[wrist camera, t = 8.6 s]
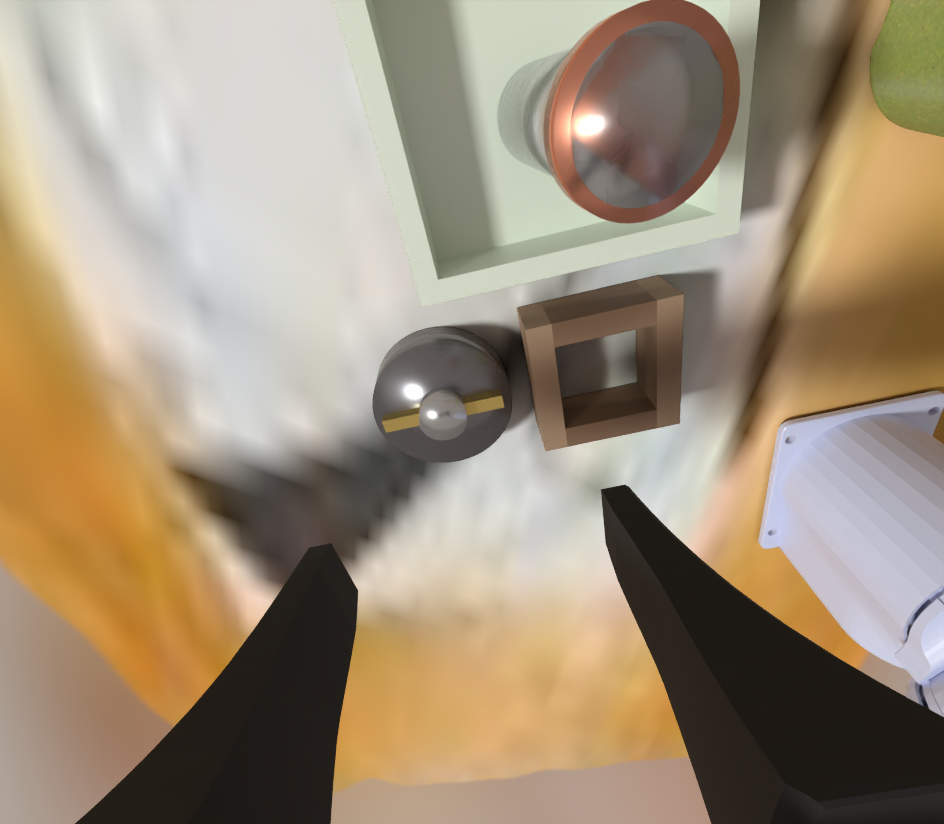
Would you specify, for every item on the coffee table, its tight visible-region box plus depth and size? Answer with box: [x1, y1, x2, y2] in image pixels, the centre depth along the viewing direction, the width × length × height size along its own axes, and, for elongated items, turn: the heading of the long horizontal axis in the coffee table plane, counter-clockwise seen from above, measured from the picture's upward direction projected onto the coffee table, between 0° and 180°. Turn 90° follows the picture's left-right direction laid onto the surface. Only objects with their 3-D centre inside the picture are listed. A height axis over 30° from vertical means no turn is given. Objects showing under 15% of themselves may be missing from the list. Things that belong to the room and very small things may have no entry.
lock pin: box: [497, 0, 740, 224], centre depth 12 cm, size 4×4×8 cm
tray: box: [333, 0, 760, 307], centre depth 14 cm, size 11×11×3 cm
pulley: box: [373, 327, 512, 462], centre depth 21 cm, size 6×6×3 cm
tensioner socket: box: [517, 275, 684, 451], centre depth 20 cm, size 6×6×2 cm
